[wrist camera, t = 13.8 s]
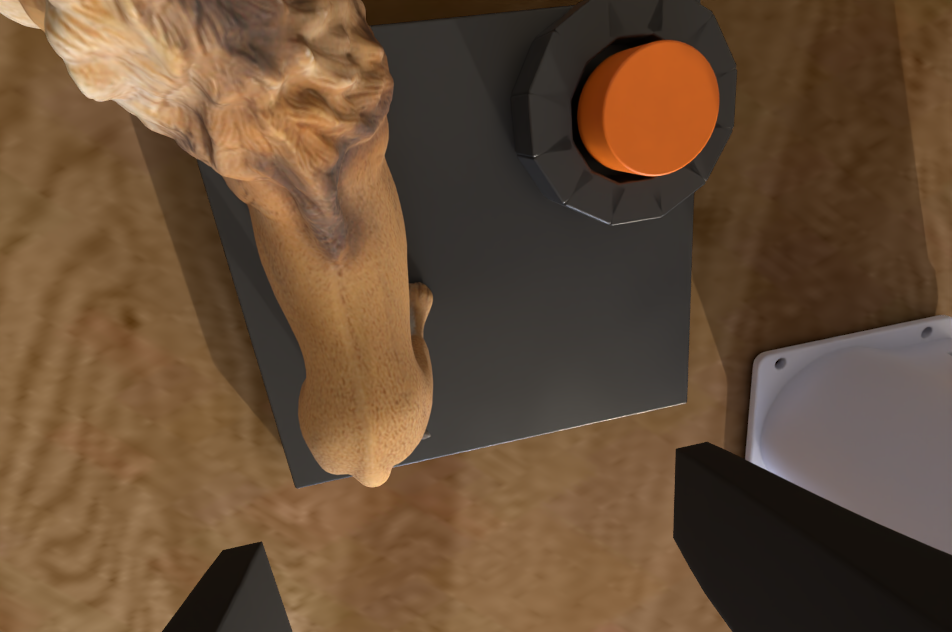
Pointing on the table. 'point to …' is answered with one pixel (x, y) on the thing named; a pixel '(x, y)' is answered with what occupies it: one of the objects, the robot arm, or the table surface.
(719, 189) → the table surface
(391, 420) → the lion figurine
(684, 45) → the button
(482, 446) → the scale
